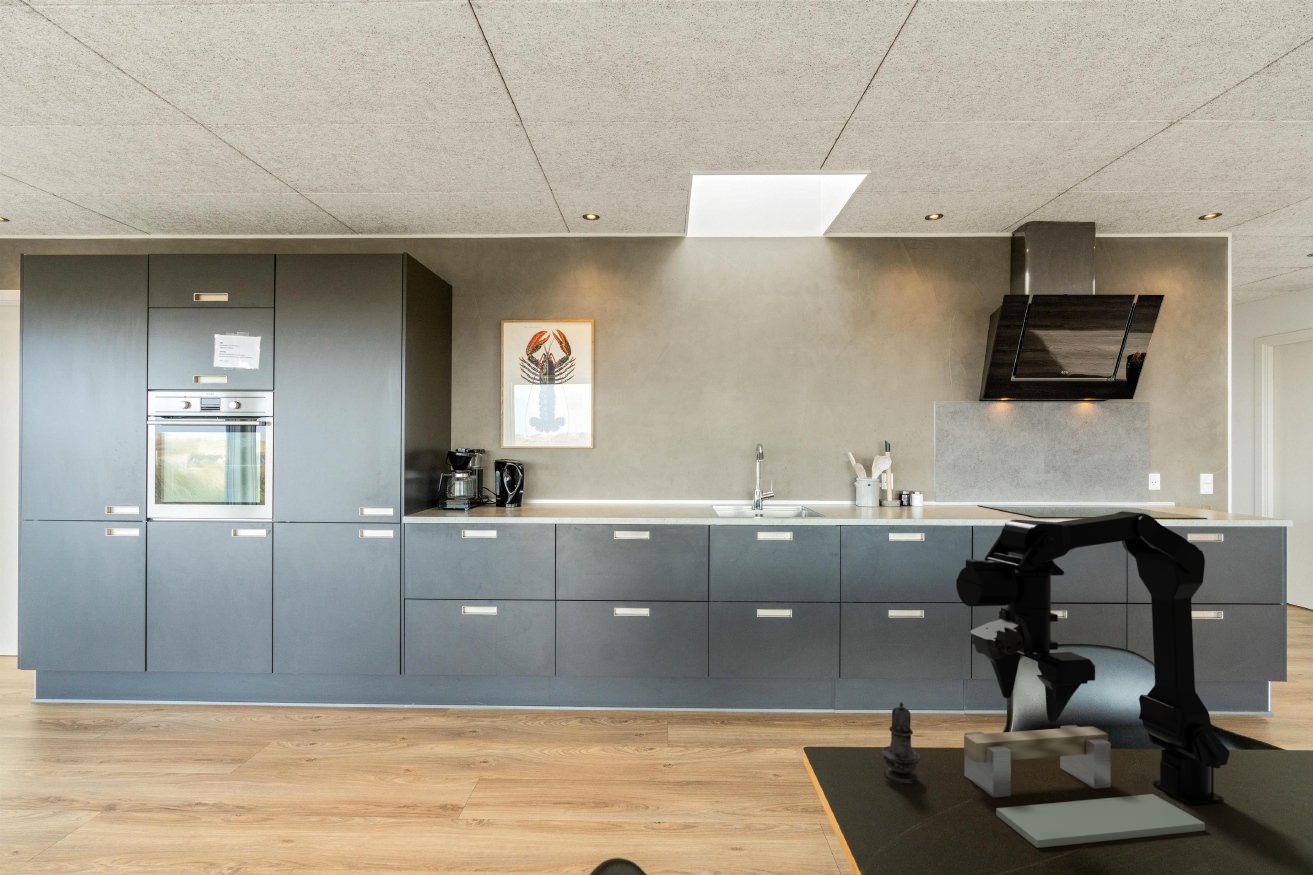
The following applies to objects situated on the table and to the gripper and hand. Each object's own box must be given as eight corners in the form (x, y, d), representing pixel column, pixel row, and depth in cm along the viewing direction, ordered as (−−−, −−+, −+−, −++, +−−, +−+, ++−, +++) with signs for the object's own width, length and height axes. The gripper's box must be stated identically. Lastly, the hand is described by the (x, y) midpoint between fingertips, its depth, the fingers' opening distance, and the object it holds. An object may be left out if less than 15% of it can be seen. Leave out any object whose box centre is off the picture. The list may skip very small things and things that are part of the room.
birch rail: (1092, 744, 110) (1092, 726, 110) (1108, 752, 107) (1108, 733, 107) (964, 753, 106) (964, 735, 106) (976, 762, 103) (976, 743, 103)
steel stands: (1075, 766, 111) (1075, 724, 112) (1110, 786, 105) (1110, 742, 105) (964, 775, 108) (964, 732, 108) (993, 797, 101) (993, 751, 101)
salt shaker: (923, 786, 104) (923, 710, 104) (884, 782, 105) (885, 706, 105) (916, 769, 110) (916, 696, 110) (879, 765, 111) (880, 693, 111)
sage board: (1152, 800, 101) (1152, 793, 101) (1204, 830, 93) (1204, 822, 93) (996, 815, 96) (996, 808, 96) (1037, 847, 88) (1037, 840, 88)
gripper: (942, 592, 106) (942, 689, 106) (1027, 622, 88) (1026, 739, 88) (1003, 591, 108) (1003, 686, 108) (1098, 619, 90) (1098, 734, 90)
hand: (1028, 709), depth 98 cm, fingers open, 9 cm apart
